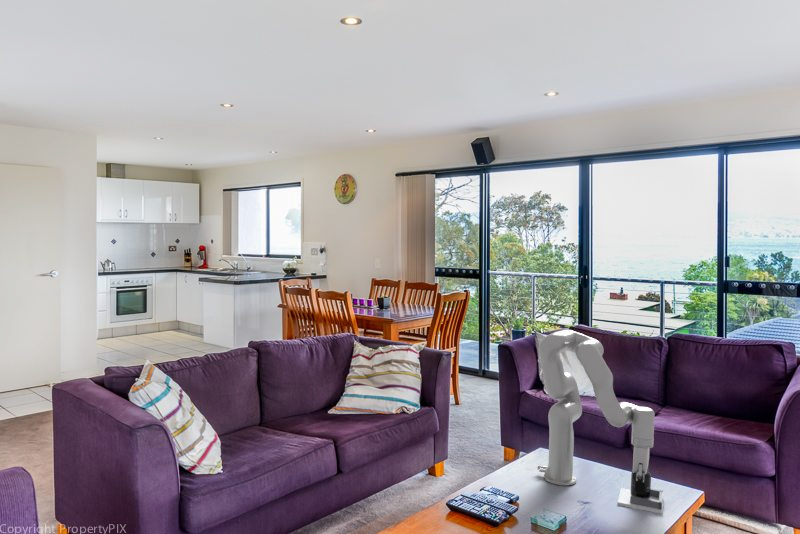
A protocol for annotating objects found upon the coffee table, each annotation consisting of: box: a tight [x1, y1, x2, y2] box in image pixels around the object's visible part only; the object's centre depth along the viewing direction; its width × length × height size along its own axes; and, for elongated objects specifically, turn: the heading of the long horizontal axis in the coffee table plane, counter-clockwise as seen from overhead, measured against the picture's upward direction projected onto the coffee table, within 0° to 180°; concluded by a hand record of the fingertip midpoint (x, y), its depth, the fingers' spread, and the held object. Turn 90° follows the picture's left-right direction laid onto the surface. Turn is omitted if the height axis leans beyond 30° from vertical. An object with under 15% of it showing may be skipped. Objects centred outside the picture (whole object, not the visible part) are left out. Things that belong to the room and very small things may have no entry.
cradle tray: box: [617, 487, 664, 515], centre depth 215 cm, size 15×14×4 cm
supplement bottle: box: [630, 465, 652, 499], centre depth 215 cm, size 7×7×12 cm
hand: (640, 487), depth 215 cm, fingers closed on supplement bottle, 6 cm apart
